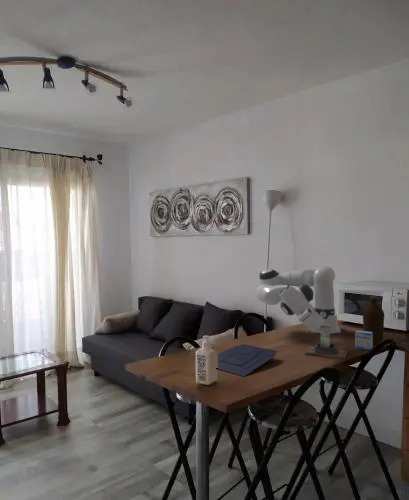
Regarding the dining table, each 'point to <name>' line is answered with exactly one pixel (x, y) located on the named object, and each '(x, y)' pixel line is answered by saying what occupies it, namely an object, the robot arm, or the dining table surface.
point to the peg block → (325, 340)
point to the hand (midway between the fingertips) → (326, 334)
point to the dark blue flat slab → (243, 359)
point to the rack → (326, 351)
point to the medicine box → (363, 340)
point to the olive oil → (374, 320)
